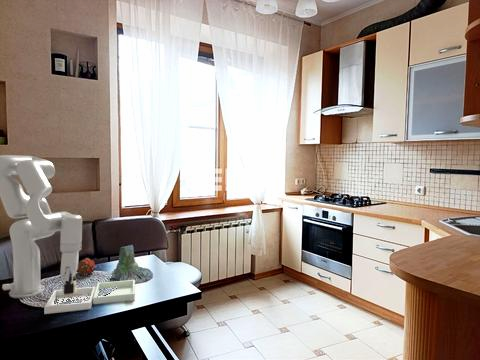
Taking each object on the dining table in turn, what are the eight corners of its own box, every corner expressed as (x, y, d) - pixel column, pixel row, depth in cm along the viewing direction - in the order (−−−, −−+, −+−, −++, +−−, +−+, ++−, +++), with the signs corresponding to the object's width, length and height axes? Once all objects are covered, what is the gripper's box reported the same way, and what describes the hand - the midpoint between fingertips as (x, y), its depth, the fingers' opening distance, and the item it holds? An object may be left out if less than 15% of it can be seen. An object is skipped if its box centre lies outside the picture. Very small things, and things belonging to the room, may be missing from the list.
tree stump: (131, 289, 143) (123, 250, 144) (105, 289, 154) (97, 252, 154) (161, 275, 159) (154, 239, 159) (135, 276, 169) (128, 243, 170)
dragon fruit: (85, 281, 153) (83, 277, 163) (100, 268, 157) (97, 265, 167) (73, 268, 151) (71, 264, 161) (88, 256, 155) (86, 253, 165)
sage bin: (93, 305, 126) (93, 297, 125) (97, 289, 141) (97, 282, 140) (134, 300, 130) (134, 293, 130) (134, 286, 145) (134, 279, 145)
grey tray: (44, 315, 117) (44, 307, 117) (54, 297, 132) (54, 290, 132) (90, 309, 122) (90, 302, 122) (95, 293, 137) (95, 286, 136)
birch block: (63, 295, 124) (62, 285, 124) (66, 291, 128) (65, 281, 128) (75, 293, 126) (74, 284, 125) (77, 289, 129) (76, 280, 129)
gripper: (65, 240, 132) (64, 282, 134) (55, 253, 116) (54, 301, 118) (84, 240, 134) (83, 281, 136) (77, 252, 119) (76, 299, 120)
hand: (69, 290), depth 127 cm, fingers closed on birch block, 3 cm apart
